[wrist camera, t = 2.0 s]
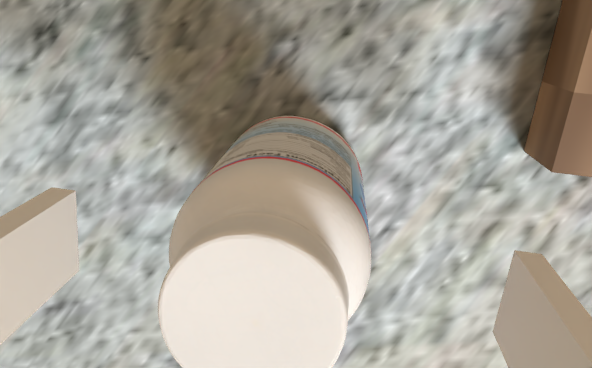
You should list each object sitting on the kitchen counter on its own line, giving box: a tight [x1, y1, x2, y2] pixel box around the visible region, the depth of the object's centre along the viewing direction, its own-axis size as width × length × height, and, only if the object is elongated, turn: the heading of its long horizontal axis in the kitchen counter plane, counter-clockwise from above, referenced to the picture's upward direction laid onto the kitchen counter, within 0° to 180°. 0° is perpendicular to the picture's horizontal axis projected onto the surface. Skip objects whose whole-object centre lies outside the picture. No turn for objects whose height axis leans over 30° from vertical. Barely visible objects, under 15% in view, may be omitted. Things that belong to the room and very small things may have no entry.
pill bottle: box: [158, 116, 371, 368], centre depth 17 cm, size 6×6×11 cm
